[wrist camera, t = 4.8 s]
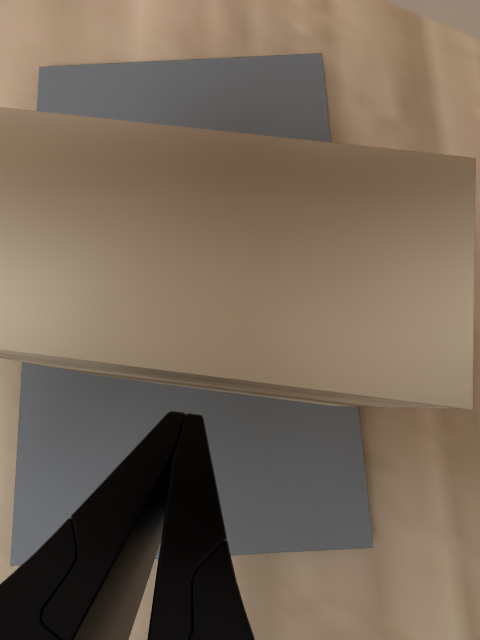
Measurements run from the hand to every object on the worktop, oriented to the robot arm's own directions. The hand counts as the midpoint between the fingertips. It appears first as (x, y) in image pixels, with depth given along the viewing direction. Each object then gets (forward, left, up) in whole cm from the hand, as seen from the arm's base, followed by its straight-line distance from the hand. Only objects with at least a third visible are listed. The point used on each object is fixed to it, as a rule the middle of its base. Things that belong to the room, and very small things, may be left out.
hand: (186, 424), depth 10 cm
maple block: (+3, -1, -7) cm, 8 cm away
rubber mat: (+6, +1, -7) cm, 9 cm away
